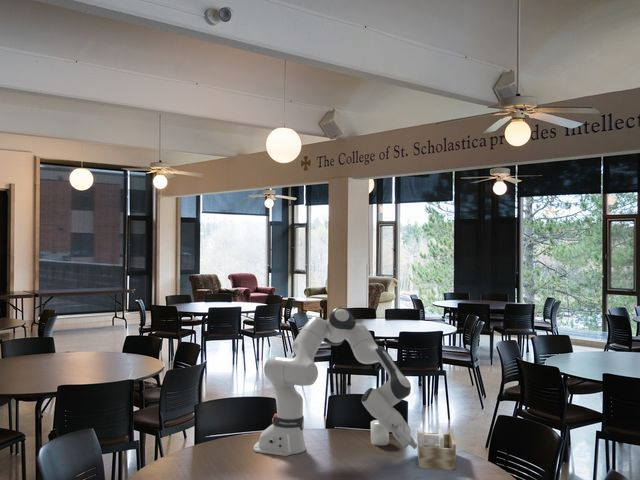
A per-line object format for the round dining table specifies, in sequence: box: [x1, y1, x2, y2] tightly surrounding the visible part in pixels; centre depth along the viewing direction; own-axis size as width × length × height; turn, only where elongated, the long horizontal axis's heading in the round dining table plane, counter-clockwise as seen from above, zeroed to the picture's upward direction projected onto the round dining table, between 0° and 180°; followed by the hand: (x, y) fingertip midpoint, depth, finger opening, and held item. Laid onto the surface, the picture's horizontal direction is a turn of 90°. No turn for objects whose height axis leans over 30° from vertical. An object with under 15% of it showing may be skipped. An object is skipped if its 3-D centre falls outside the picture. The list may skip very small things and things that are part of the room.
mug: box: [370, 419, 390, 446], centre depth 274 cm, size 8×11×9 cm
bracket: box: [418, 428, 457, 471], centre depth 251 cm, size 14×20×10 cm
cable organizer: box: [416, 427, 444, 462], centre depth 251 cm, size 15×11×12 cm
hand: (416, 446), depth 252 cm, fingers closed
